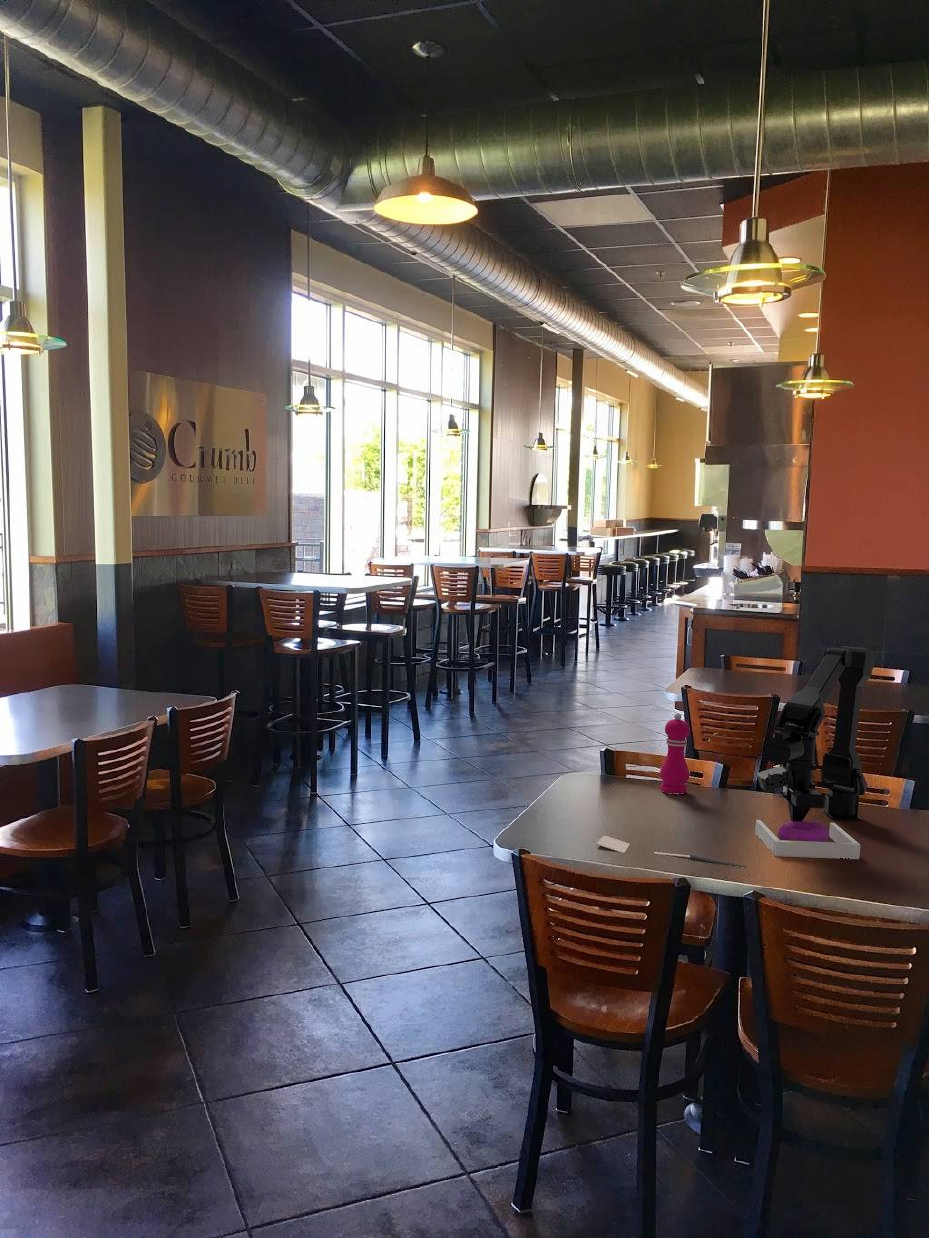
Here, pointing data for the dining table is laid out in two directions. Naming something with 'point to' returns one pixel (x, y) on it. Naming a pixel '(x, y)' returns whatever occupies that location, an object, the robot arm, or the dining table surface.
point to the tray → (811, 844)
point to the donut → (803, 832)
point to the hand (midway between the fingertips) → (794, 828)
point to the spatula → (622, 847)
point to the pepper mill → (675, 757)
